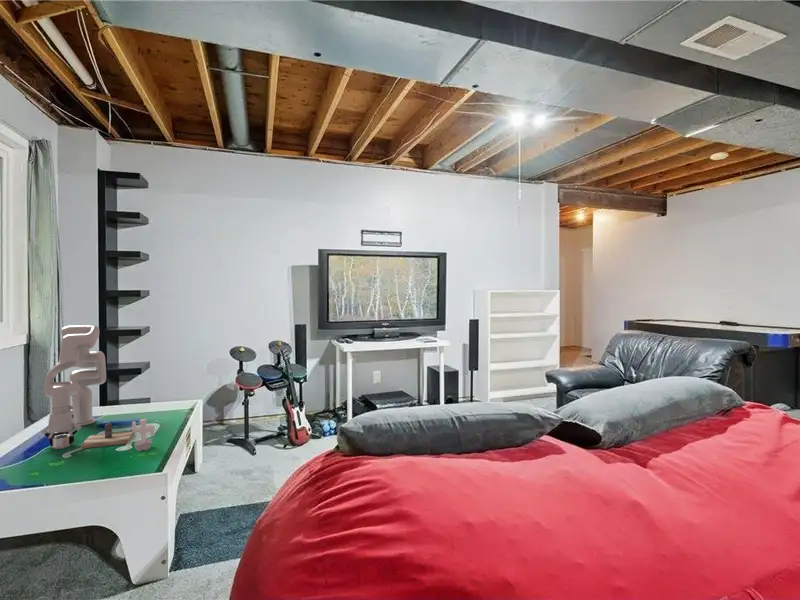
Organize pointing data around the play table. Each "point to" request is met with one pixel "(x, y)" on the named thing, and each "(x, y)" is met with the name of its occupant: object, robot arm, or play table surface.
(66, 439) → the steel ring
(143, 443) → the figurine
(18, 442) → the play table surface
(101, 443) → the post stand
